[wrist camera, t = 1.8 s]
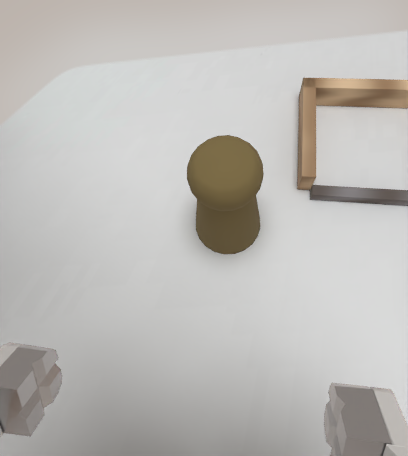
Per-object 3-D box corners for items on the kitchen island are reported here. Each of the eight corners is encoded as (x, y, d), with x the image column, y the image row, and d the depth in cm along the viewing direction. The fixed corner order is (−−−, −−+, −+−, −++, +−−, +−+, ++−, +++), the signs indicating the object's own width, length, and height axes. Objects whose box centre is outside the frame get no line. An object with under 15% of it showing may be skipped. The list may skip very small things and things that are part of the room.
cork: (200, 191, 34) (185, 117, 23) (263, 197, 33) (275, 123, 23) (191, 250, 32) (169, 197, 21) (257, 258, 31) (268, 207, 20)
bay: (297, 198, 32) (301, 186, 30) (299, 95, 37) (303, 77, 34) (461, 208, 31) (480, 196, 28) (443, 99, 35) (458, 81, 33)
